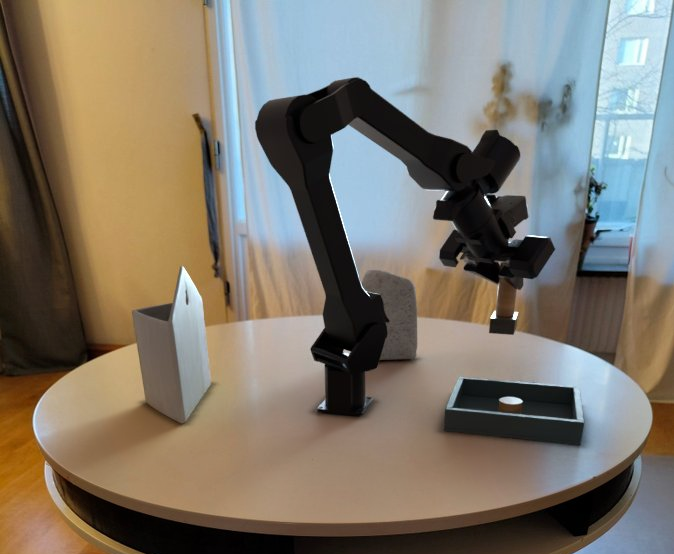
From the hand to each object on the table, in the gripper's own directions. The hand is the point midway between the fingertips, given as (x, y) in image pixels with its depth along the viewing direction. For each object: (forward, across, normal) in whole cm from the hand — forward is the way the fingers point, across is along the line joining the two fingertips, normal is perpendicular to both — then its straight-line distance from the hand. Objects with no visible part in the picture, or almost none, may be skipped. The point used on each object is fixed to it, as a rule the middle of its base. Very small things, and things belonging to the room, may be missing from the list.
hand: (512, 286), depth 101 cm
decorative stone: (-1, +14, +20) cm, 24 cm away
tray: (-5, -18, +23) cm, 30 cm away
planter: (-29, +18, +47) cm, 58 cm away
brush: (+4, 0, +6) cm, 7 cm away
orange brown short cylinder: (-6, -17, +23) cm, 30 cm away
